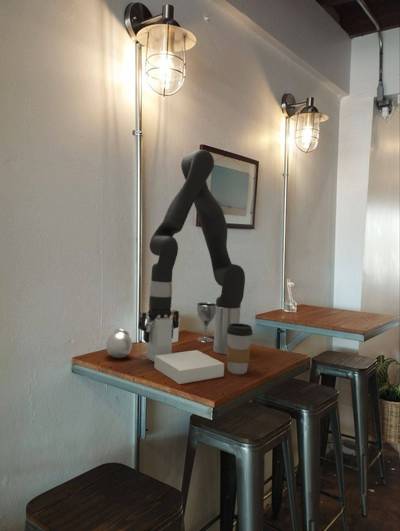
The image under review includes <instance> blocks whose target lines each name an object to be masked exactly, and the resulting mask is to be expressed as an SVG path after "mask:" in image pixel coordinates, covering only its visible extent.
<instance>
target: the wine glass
mask: <svg viewBox="0 0 400 531" xmlns="http://www.w3.org/2000/svg"><path fill="white" fill-rule="evenodd" d="M196 305H197V306H196V312H197V317H198V319H199V321H201V323H202V325H203V330H204V332H203V333H204V335H203V337H197V338H198V339H197V338H196V339H197V340H198V342H200V341H201V342H200V343H213V342H214V338H210V337H207V332H208V327H209V325H210V323H212V322H213V320H215V314H216V303H213V302H198V303H196ZM197 340H196V341H197Z"/></svg>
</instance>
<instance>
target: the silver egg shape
mask: <svg viewBox="0 0 400 531" xmlns="http://www.w3.org/2000/svg"><path fill="white" fill-rule="evenodd" d="M105 348H106V351H107V353H108V354H109V355H110V356H111V357H113V358H115V359H121V358H125V357H127V356H128V355H129V354H130V352H131V350H132V349H133V342H132V338H131V337H130V333H129V331H127V330H126V329H125V328H123V327H119V328H116V329H115V330H114V331H113V332H112V334H110V335H109V337H108V338H107V340H106V343H105Z"/></svg>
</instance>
